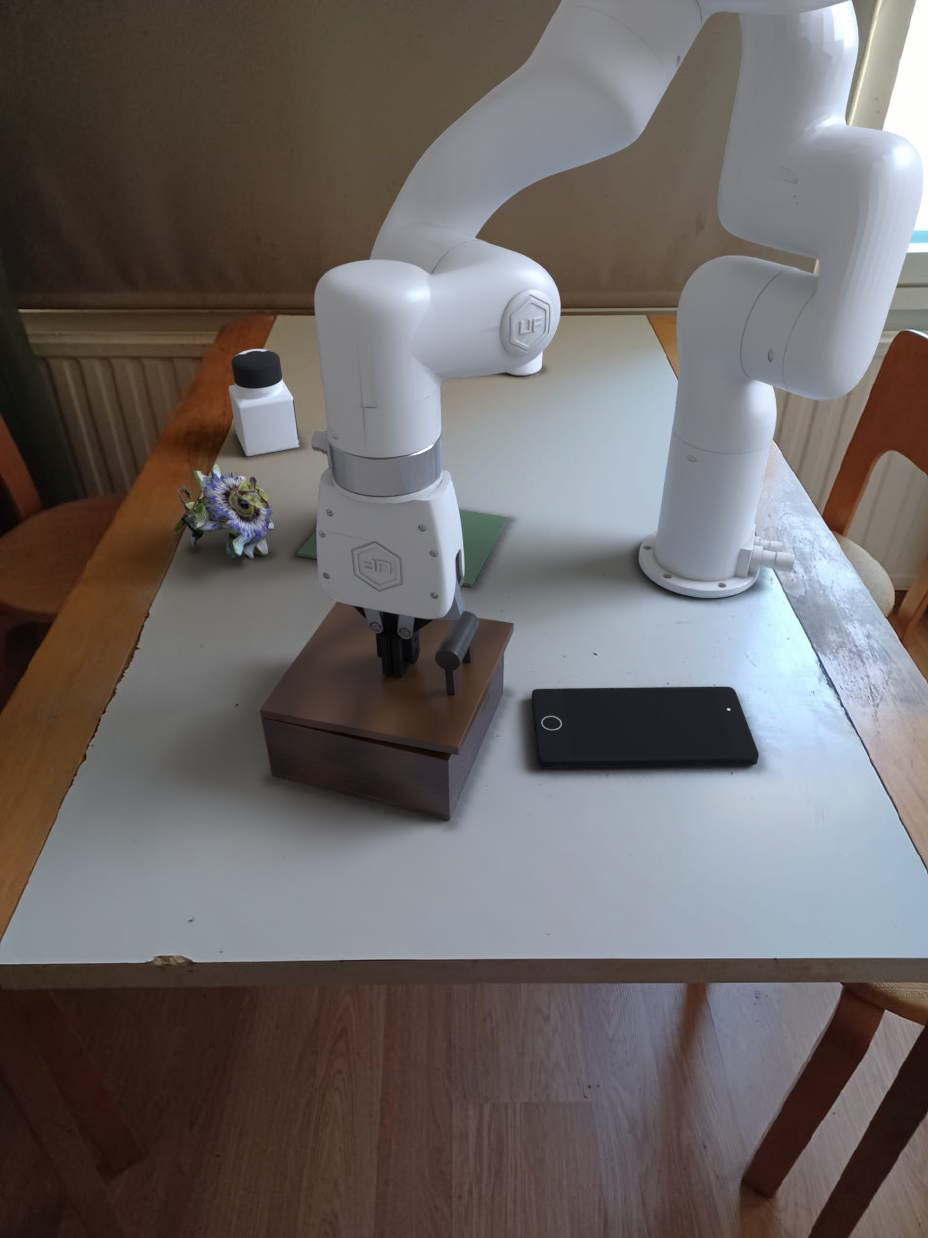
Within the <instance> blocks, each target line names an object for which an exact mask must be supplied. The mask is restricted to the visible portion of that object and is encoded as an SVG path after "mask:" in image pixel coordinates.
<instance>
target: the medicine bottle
mask: <svg viewBox="0 0 928 1238" xmlns="http://www.w3.org/2000/svg"><path fill="white" fill-rule="evenodd" d="M230 363H231V369H232V375H233V383H234V384H232V385H229V386H228V394H229V400H230V404H231V406H230V407H231V411H232V416H233V422H234V428H235V434H236V436H237V438H238V441H239V443H240V445H241V447H242V449H243V453H244V454H245V456H246V457H253V456H259V455H265V454H269V453H270V454H271V453H276V452H281V451H288V450H293V449H297V448H299V447H300V439H299V431H298V430H299V429H298V422H297V416H296V408H295V399H294V397H293V395H292V393H291V391H290V390H289V389H288V387H287V385H286V384H285V381H284V379H283V371H282V366H281V365H282V364H281V358H280V356H279V355H278V354H277V353H276V352H274V351H272V350H268V349H264V348H253V349H247V350H243V351H241V352H239V353H238V354H236V355H234V357H233V358H232V359H231V362H230Z"/></svg>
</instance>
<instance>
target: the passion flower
mask: <svg viewBox="0 0 928 1238" xmlns="http://www.w3.org/2000/svg"><path fill="white" fill-rule="evenodd" d="M192 474H193V477H194V479H195V481H196V483H197V485H198V487H199V488H200V490H201V492H202V496H201V498H199V497H197V498H196V501H197V503H196V502H195V501H191V502H190V501H189V502H186V501H184V498H183V496H182V494H181V492H182V493H184V494H185V495H186V498H187V499H188V500H191V499H192V494H191V492H190V490H188V488H187V487H186V486H185V485H182V486H179V487H178V489H177V494H178V496H179V499H180V502H181V503H182V505H183V507H184V510H185V512H184V513H183V515H182V517H181V518H180V519H179V521H177V522H176V524H175V527H174V532H178V531H180V530H181V528H183V527H184V526H186V527H187V528H188V530H189V531H190V532H191V533H190V541H191V545H192V550H195V547H196V543H197V542H198V541H199V540H200V539H202V538H203V536H204V533H205V532H215V531H218V530H225V531H226V532H227V535H228V538H227V541H226V544H225V551H226V554H227V555H228V556H229V557H230V558H232V559H235V560H236V559H238V558H240V557H241V556H242V557H243V558H245V559H248V560H249V561H252V562H253V561H254V554H256V555H258V556H267V555H268V554H269V547H268V544H267V540H266V539H267V536H268V531H273V530H274V529H275V524H274V523H273V521H272V520H271V517H272V514H274V512H272V510H271V508H273V506H270V505H269V504H270V503H269V502H268V501H269V498H268V496H267V495H266V493H265V492H264V491H265V490H263V488H260V485H259V484H258V482H257V478H256V477H255V476H250V477H249V481H247V479H246V476H244V475H239V476H236V477H234V475H233V472H230V473H229V474H226V473H224V474H223V473H221V469H220V467H219V464H214V465H213V466H212V469H211V471H210V475H211V477H209V476H207V475H204V474H203V473H202V471H201V470H193V471H192ZM236 475H238V473H237V472H236ZM194 507H195V508H194Z"/></svg>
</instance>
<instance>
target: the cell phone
mask: <svg viewBox="0 0 928 1238" xmlns="http://www.w3.org/2000/svg"><path fill="white" fill-rule="evenodd" d="M531 711H532V720H533V729H534V738H535V739H534V740H535V747H536V748H535V749H536V757H537V763H538V765H539V767H540V768H542V769H551V768H609V767H610V768H613V767H614V768H617V767H621V768H622V767H686V766H687V767H688V766H689V767H690V766H692V767H694V766H696V767H697V766H701V767H702V766H755V765H757V764H758V761H759V756H760V755H759V751H758V748H757V745H756V742H755V740H754V737H753V733H752V732H751V729H750V725H749V723H748V721H747V718H746V715H745V713H744V709H743V707H742V704H741V702H740V699H739V696H738V694H737V692H736V690H735V689H734V688H733V687H731V686H650V687H648V686H647V687H643V686H642V687H577V688H576V687H573V688H572V687H571V688H569V687H567V688H566V687H565V688H564V687H563V688H562V687H561V688H560V687H559V688H535V689H533V690H532V692H531Z"/></svg>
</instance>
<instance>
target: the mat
mask: <svg viewBox="0 0 928 1238" xmlns="http://www.w3.org/2000/svg"><path fill="white" fill-rule="evenodd" d="M459 514H460V521H461V528H462V538H463V549H464V581H463V584H462V586H463V587H470V588H472V587H473V586H474V583H475V581H476V579H477V578H478V576H479V574H480V572H481V571H482V569H483V566H484V565H485V562H486V561H487V559H488V557H489V556H490V553H491V552H492V550H493V548H494V546H495V544H496V542H497V541H498V538H499V536H500V535H501V533H502V531H503V529H504V527H505V526H506V524H507V521H508V517H507V516H502V515H496V514H489V513H484V512H483V513H482V512H477V511H472V510H471V511H470V510H465V509H464V510H463V509H459ZM296 555H297V557H302V558H308V559H313V560H317V539H316V530H315V531H314V532H313V533H312V535H310V537H309V538H308V539H307V540H306V541H305V543H304V544H303V545H302V546H301V547H300V548H299V550H298V551H296Z"/></svg>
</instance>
